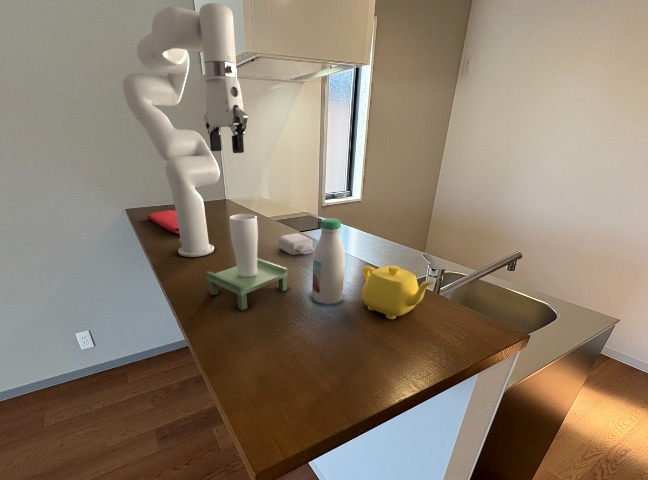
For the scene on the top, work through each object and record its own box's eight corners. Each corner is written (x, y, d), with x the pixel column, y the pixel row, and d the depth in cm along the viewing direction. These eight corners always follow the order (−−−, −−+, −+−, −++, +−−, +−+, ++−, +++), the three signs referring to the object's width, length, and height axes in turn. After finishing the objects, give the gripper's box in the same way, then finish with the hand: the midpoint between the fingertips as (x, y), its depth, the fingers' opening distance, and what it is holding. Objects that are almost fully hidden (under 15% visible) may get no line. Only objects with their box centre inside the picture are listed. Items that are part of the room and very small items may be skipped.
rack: (208, 293, 85) (205, 272, 82) (254, 276, 95) (252, 256, 92) (242, 310, 76) (240, 287, 73) (288, 289, 87) (287, 268, 84)
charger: (299, 261, 106) (278, 248, 118) (322, 256, 110) (299, 244, 121) (299, 247, 104) (277, 236, 115) (322, 242, 108) (299, 232, 119)
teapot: (438, 316, 73) (448, 273, 68) (411, 334, 66) (420, 287, 62) (373, 290, 85) (378, 252, 80) (346, 303, 79) (349, 262, 74)
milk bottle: (344, 293, 84) (350, 217, 75) (339, 306, 77) (344, 225, 68) (316, 289, 86) (318, 215, 77) (308, 302, 80) (310, 222, 70)
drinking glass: (256, 280, 80) (252, 220, 73) (230, 278, 81) (224, 219, 74) (263, 270, 86) (260, 214, 79) (239, 268, 87) (234, 213, 80)
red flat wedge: (177, 214, 171) (176, 207, 169) (208, 230, 141) (207, 222, 140) (147, 219, 163) (145, 211, 161) (173, 237, 133) (171, 228, 132)
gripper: (256, 71, 74) (259, 153, 82) (213, 78, 84) (219, 149, 92) (229, 67, 69) (235, 154, 77) (188, 75, 80) (197, 151, 88)
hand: (227, 151), depth 85 cm, fingers open, 9 cm apart
